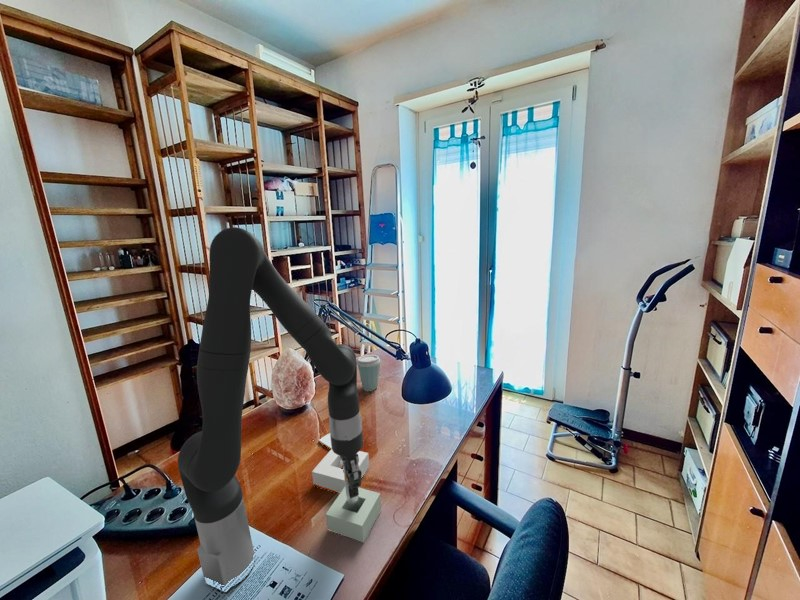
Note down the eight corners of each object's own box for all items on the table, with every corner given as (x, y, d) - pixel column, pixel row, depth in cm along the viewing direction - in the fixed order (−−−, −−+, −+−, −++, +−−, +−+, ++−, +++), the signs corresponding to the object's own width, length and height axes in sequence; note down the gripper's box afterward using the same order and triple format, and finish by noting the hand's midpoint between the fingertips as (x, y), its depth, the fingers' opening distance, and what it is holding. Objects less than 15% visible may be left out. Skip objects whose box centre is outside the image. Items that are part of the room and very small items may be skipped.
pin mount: (363, 543, 80) (362, 525, 79) (327, 530, 83) (325, 514, 82) (381, 509, 89) (380, 493, 88) (348, 499, 92) (346, 484, 91)
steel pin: (356, 517, 83) (352, 479, 80) (345, 514, 84) (341, 476, 82) (362, 508, 86) (358, 471, 83) (351, 504, 87) (348, 468, 84)
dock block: (350, 496, 93) (348, 481, 92) (313, 486, 98) (311, 471, 97) (369, 467, 104) (368, 453, 103) (336, 458, 109) (334, 445, 107)
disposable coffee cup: (355, 386, 155) (352, 356, 151) (376, 380, 160) (374, 350, 156) (364, 396, 146) (361, 364, 142) (386, 389, 150) (384, 358, 147)
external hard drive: (318, 443, 117) (345, 426, 126) (333, 453, 112) (360, 434, 121) (317, 439, 117) (345, 422, 126) (332, 449, 112) (360, 430, 121)
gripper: (324, 418, 85) (331, 476, 88) (336, 451, 72) (343, 518, 76) (353, 410, 87) (358, 467, 91) (370, 441, 75) (375, 506, 79)
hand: (352, 490), depth 83 cm, fingers closed on steel pin, 3 cm apart
